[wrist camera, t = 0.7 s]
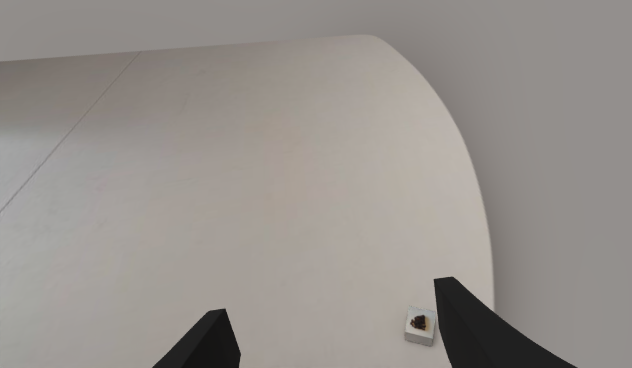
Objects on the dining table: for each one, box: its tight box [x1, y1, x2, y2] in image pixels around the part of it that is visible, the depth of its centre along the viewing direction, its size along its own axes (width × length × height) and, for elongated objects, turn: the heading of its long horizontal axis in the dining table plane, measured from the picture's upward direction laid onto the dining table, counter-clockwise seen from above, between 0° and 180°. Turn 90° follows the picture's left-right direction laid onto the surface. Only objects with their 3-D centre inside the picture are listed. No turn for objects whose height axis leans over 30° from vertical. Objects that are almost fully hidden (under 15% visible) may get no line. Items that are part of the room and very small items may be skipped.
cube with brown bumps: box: [405, 306, 436, 346], centre depth 30 cm, size 2×2×2 cm
